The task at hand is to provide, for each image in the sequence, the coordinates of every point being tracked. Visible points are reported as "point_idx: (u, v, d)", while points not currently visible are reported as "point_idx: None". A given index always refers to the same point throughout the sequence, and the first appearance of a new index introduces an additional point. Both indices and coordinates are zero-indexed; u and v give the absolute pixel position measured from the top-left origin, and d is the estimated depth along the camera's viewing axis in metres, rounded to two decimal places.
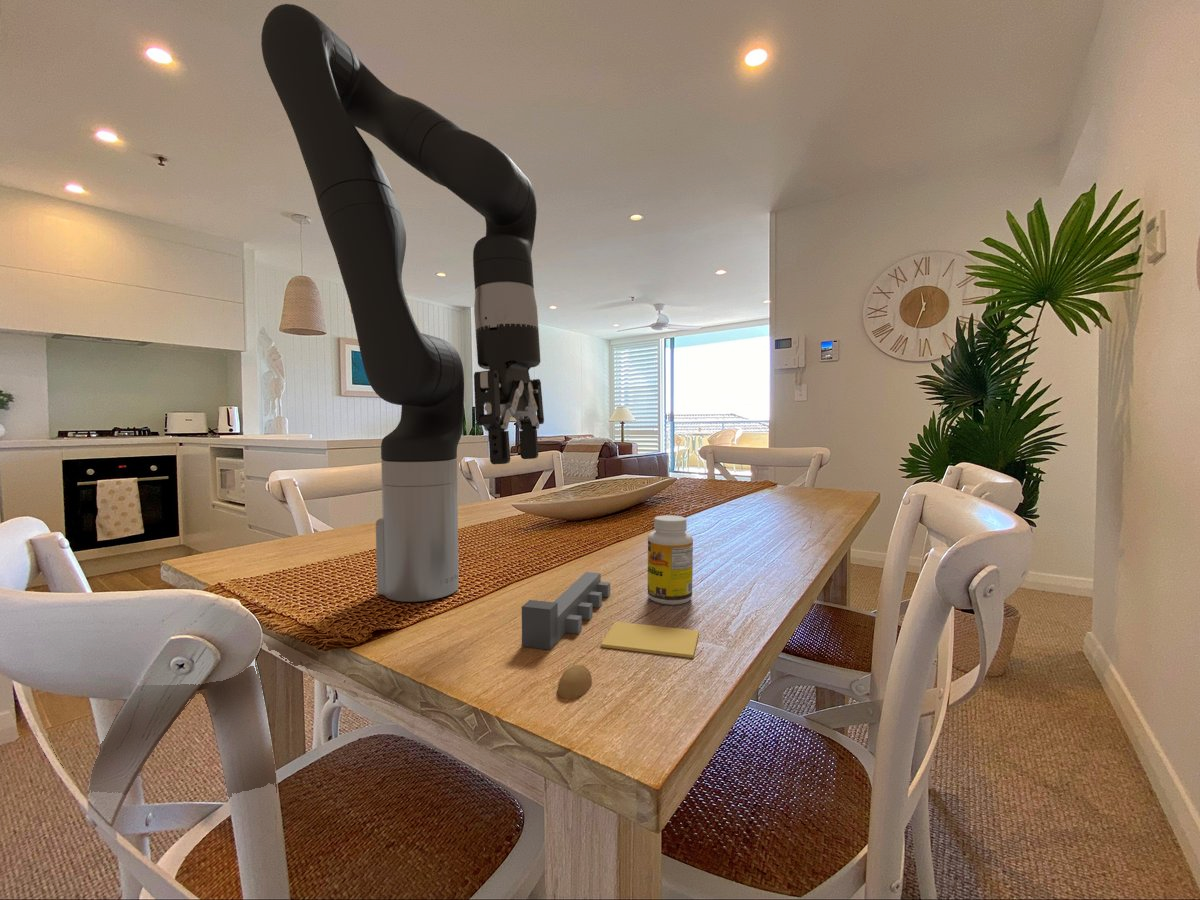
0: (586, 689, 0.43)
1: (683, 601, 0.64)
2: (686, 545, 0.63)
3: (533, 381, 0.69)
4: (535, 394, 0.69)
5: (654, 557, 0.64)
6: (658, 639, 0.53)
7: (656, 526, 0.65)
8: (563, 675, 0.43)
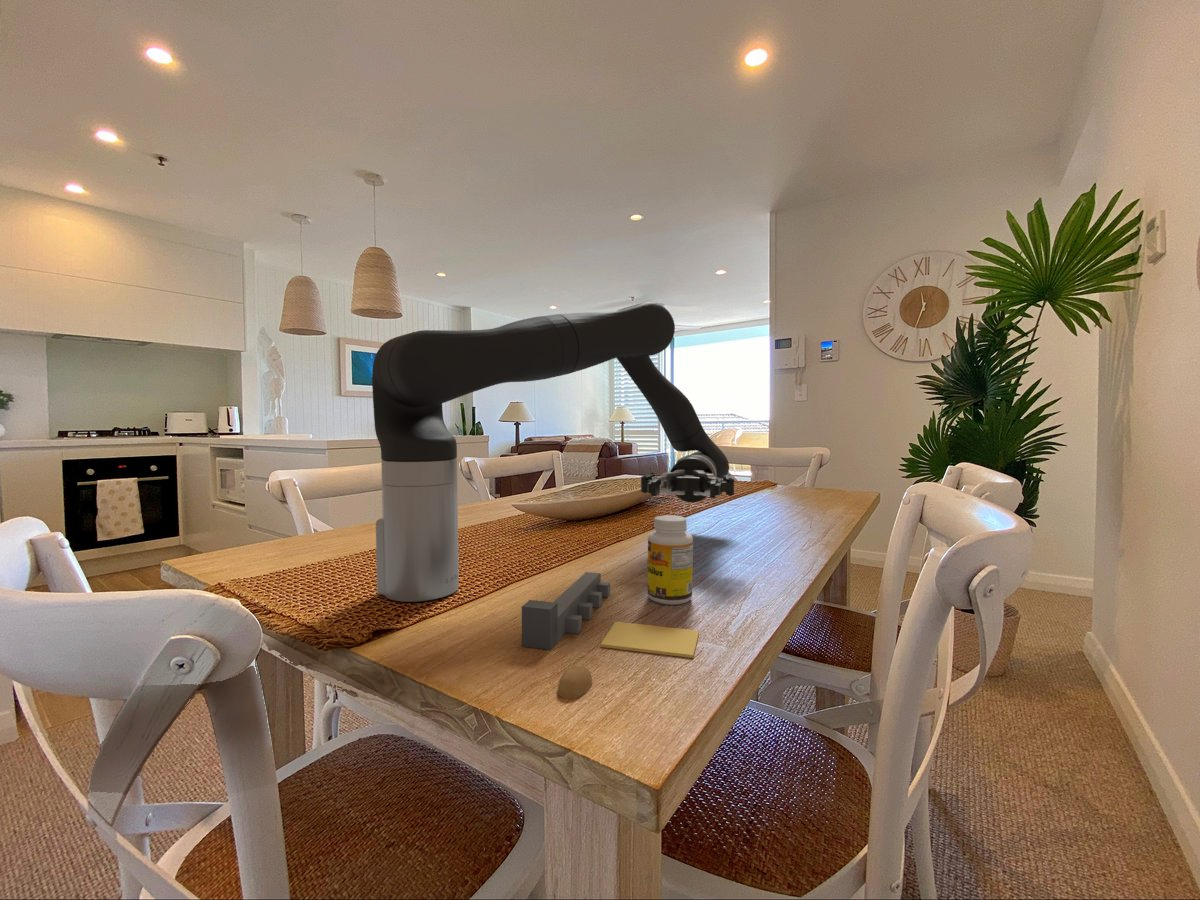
0: (586, 689, 0.43)
1: (683, 601, 0.64)
2: (686, 545, 0.63)
3: None
4: None
5: (654, 557, 0.64)
6: (658, 639, 0.53)
7: (656, 526, 0.65)
8: (564, 676, 0.43)
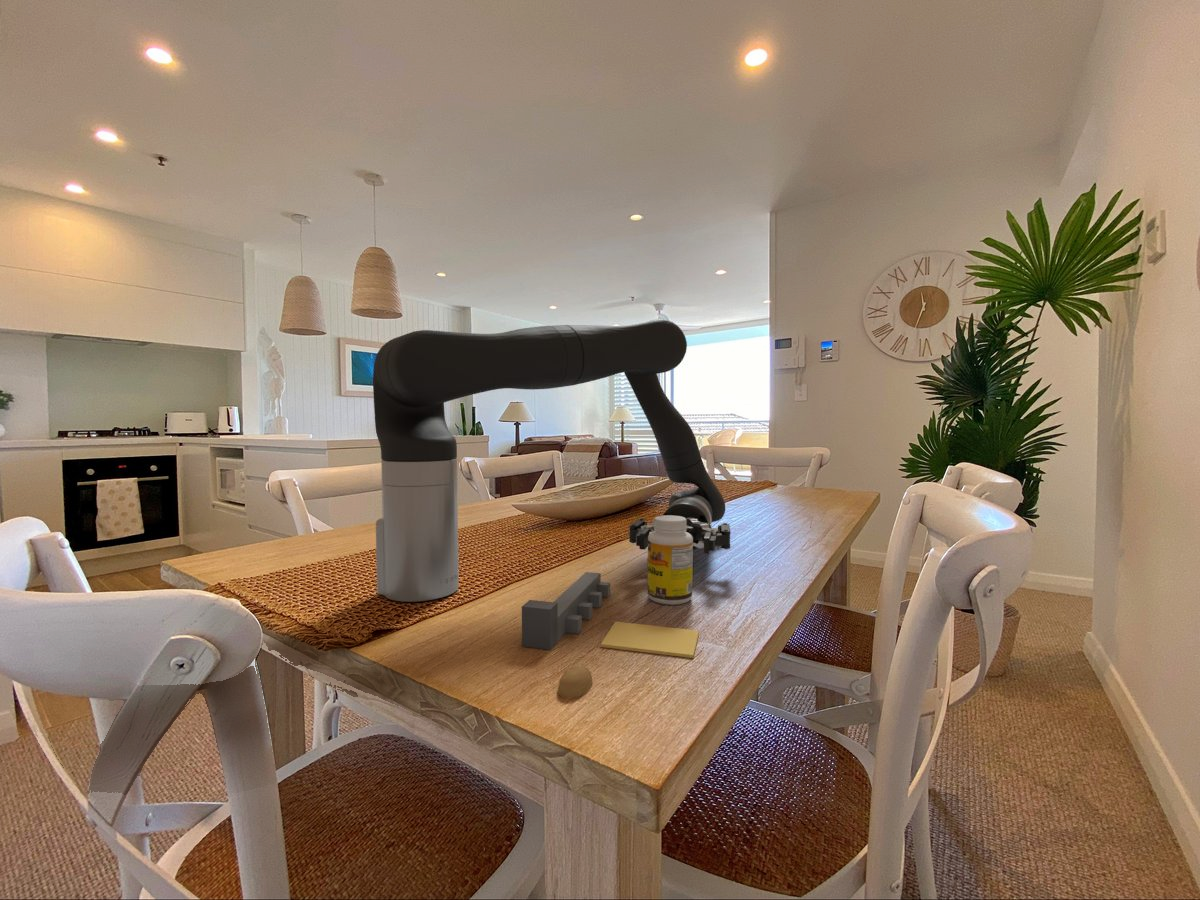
0: (587, 689, 0.43)
1: (683, 601, 0.64)
2: (686, 545, 0.63)
3: None
4: None
5: (654, 557, 0.64)
6: (658, 639, 0.53)
7: (656, 526, 0.65)
8: (564, 676, 0.43)
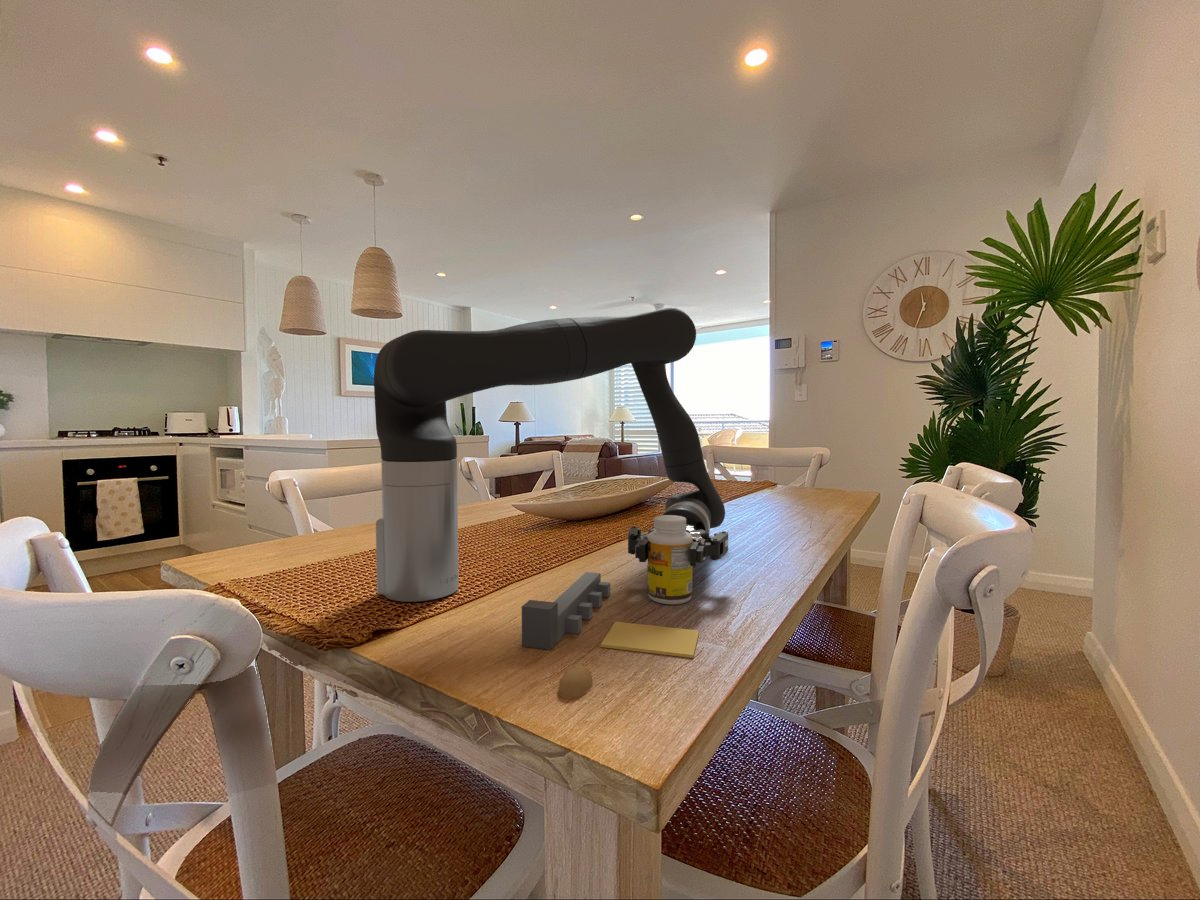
0: (587, 690, 0.43)
1: (683, 601, 0.64)
2: (686, 545, 0.63)
3: None
4: None
5: (654, 557, 0.64)
6: (658, 639, 0.53)
7: (656, 526, 0.64)
8: (564, 676, 0.43)
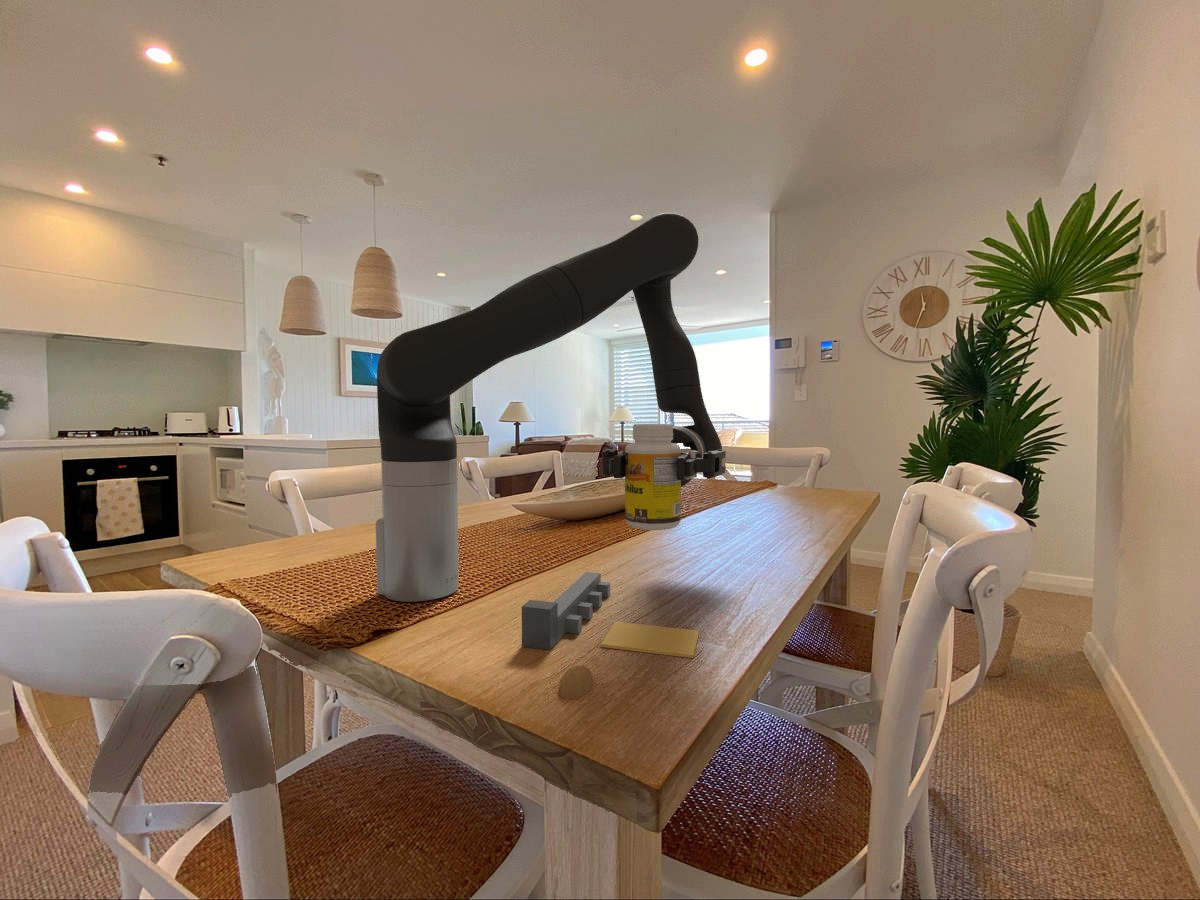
0: (587, 690, 0.43)
1: (669, 525, 0.51)
2: (672, 455, 0.50)
3: None
4: None
5: (633, 471, 0.51)
6: (658, 639, 0.53)
7: (635, 433, 0.52)
8: (564, 676, 0.43)
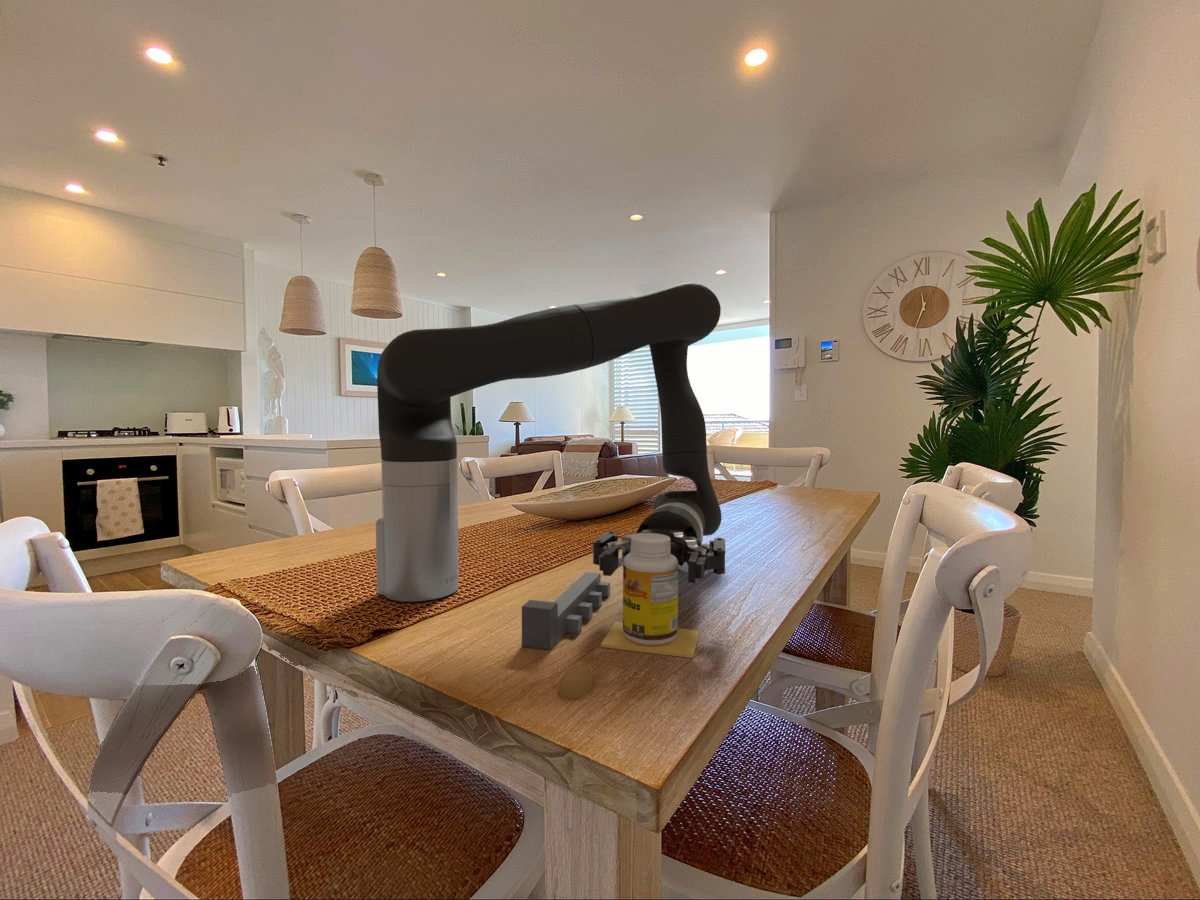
0: (588, 690, 0.43)
1: (666, 641, 0.51)
2: (669, 572, 0.51)
3: None
4: None
5: (630, 586, 0.51)
6: None
7: (633, 547, 0.52)
8: (565, 676, 0.43)
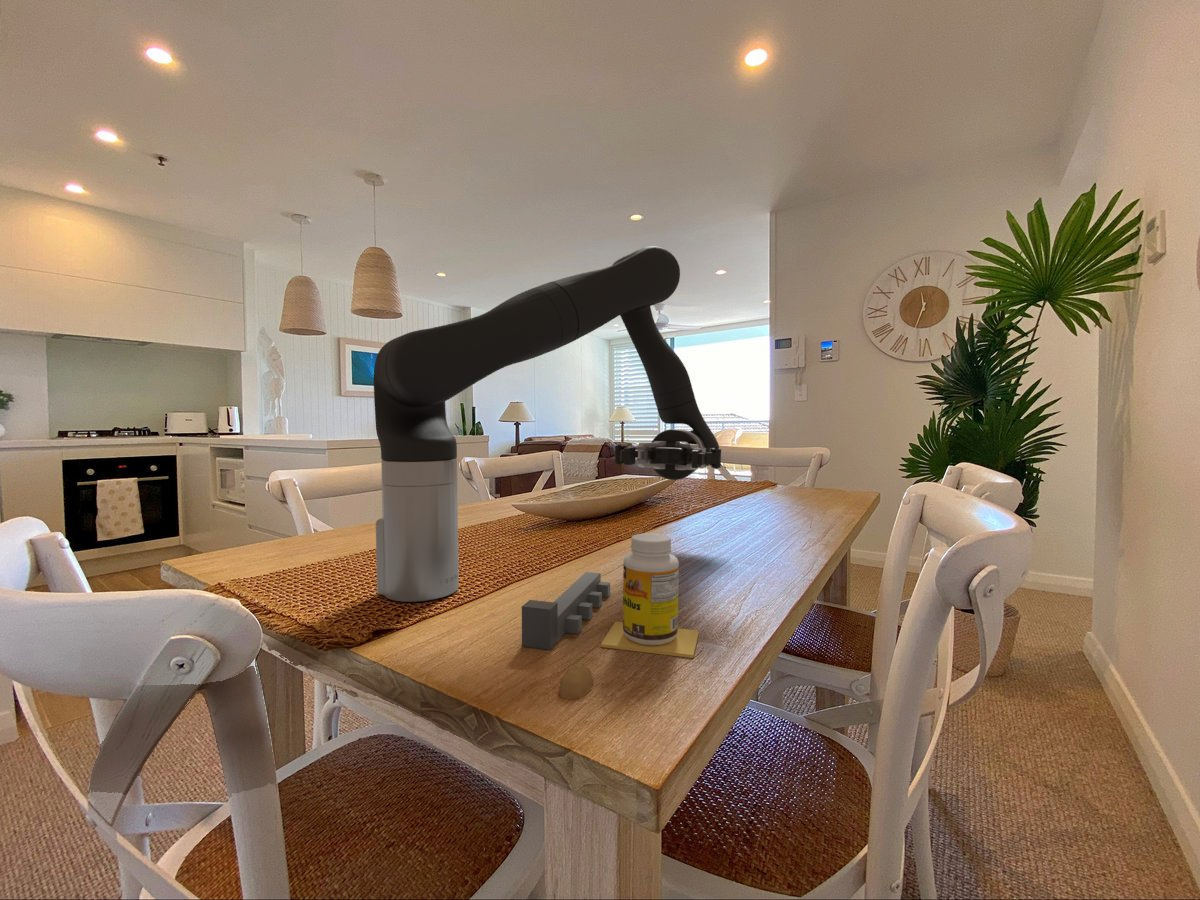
0: (588, 690, 0.43)
1: (666, 641, 0.51)
2: (670, 572, 0.51)
3: None
4: None
5: (631, 586, 0.51)
6: None
7: (633, 547, 0.52)
8: (565, 676, 0.43)
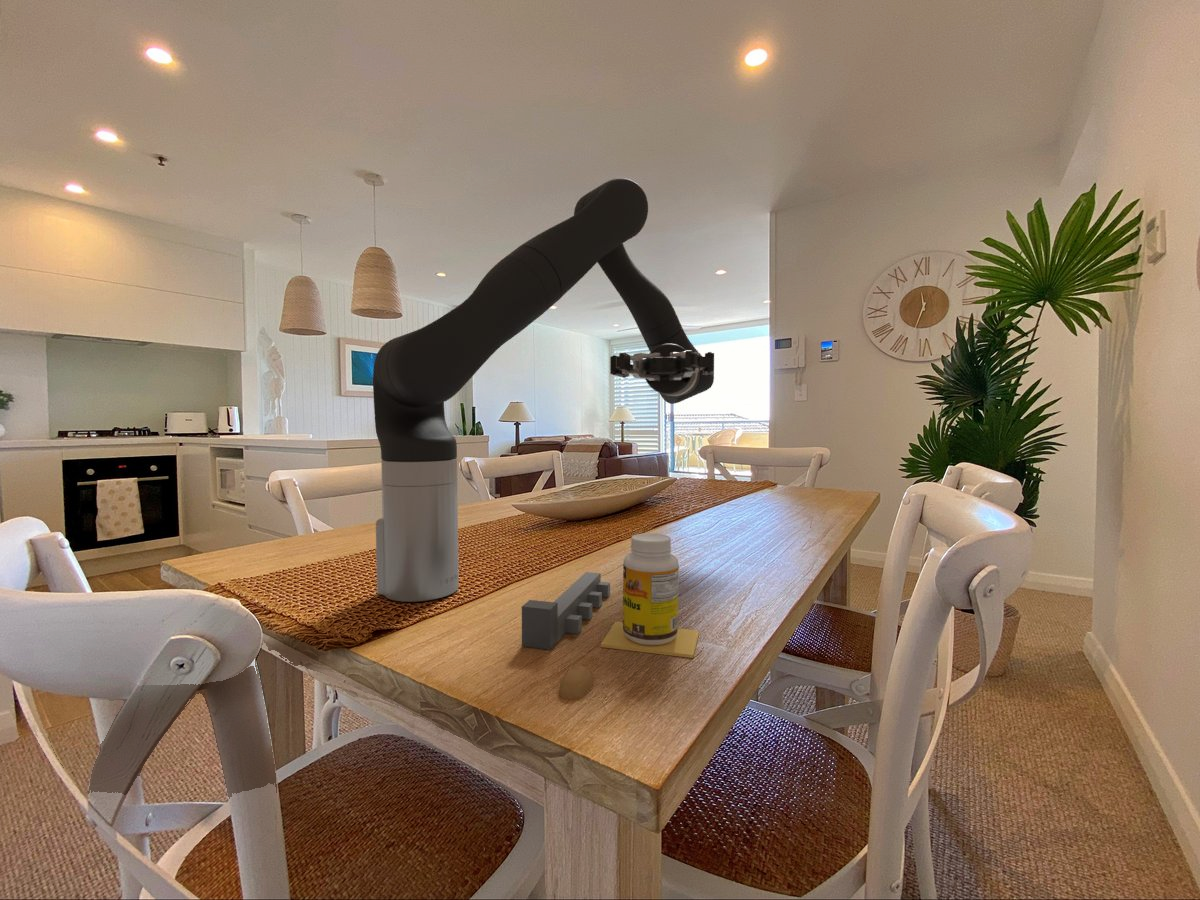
0: (588, 690, 0.43)
1: (666, 641, 0.51)
2: (670, 572, 0.51)
3: None
4: None
5: (631, 586, 0.51)
6: None
7: (633, 547, 0.52)
8: (565, 676, 0.43)
